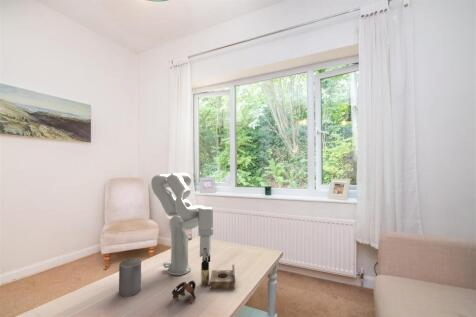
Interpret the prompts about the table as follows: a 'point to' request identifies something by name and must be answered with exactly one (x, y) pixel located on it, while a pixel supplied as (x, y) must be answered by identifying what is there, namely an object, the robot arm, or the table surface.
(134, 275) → the pillar candle
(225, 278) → the jig
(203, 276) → the gold cylinder
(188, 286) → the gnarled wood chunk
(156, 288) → the table surface
